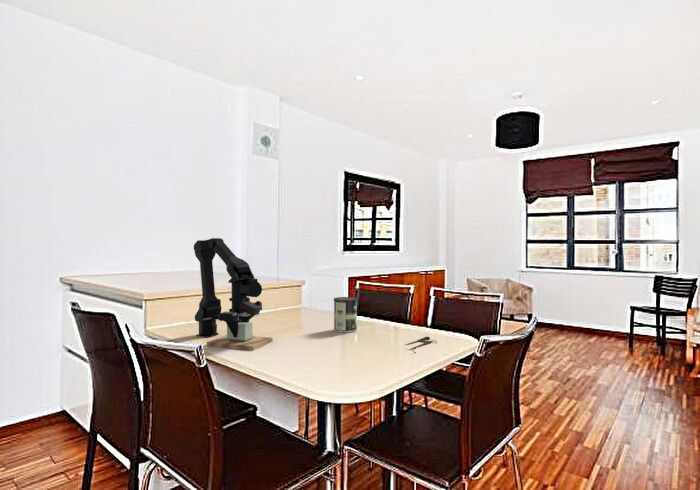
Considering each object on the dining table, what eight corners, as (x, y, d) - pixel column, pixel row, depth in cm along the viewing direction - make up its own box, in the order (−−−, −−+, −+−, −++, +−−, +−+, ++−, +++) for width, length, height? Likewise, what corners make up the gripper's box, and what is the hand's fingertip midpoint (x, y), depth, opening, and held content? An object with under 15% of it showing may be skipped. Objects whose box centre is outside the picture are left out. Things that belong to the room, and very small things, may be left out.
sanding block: (227, 339, 163) (226, 323, 163) (234, 336, 168) (234, 321, 168) (245, 341, 160) (245, 325, 160) (252, 338, 165) (252, 322, 165)
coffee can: (357, 327, 194) (357, 296, 193) (356, 332, 183) (357, 300, 183) (334, 327, 194) (334, 296, 194) (332, 332, 184) (332, 299, 183)
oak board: (206, 345, 161) (206, 341, 161) (228, 337, 174) (228, 334, 174) (253, 350, 154) (253, 346, 154) (272, 341, 168) (272, 337, 167)
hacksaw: (426, 339, 174) (426, 335, 174) (448, 343, 167) (448, 339, 167) (388, 350, 157) (388, 346, 157) (411, 355, 149) (411, 351, 149)
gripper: (244, 299, 152) (244, 342, 153) (270, 293, 170) (270, 332, 170) (217, 297, 156) (217, 340, 156) (245, 292, 174) (245, 330, 174)
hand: (239, 335), depth 164 cm, fingers closed on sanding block, 5 cm apart
